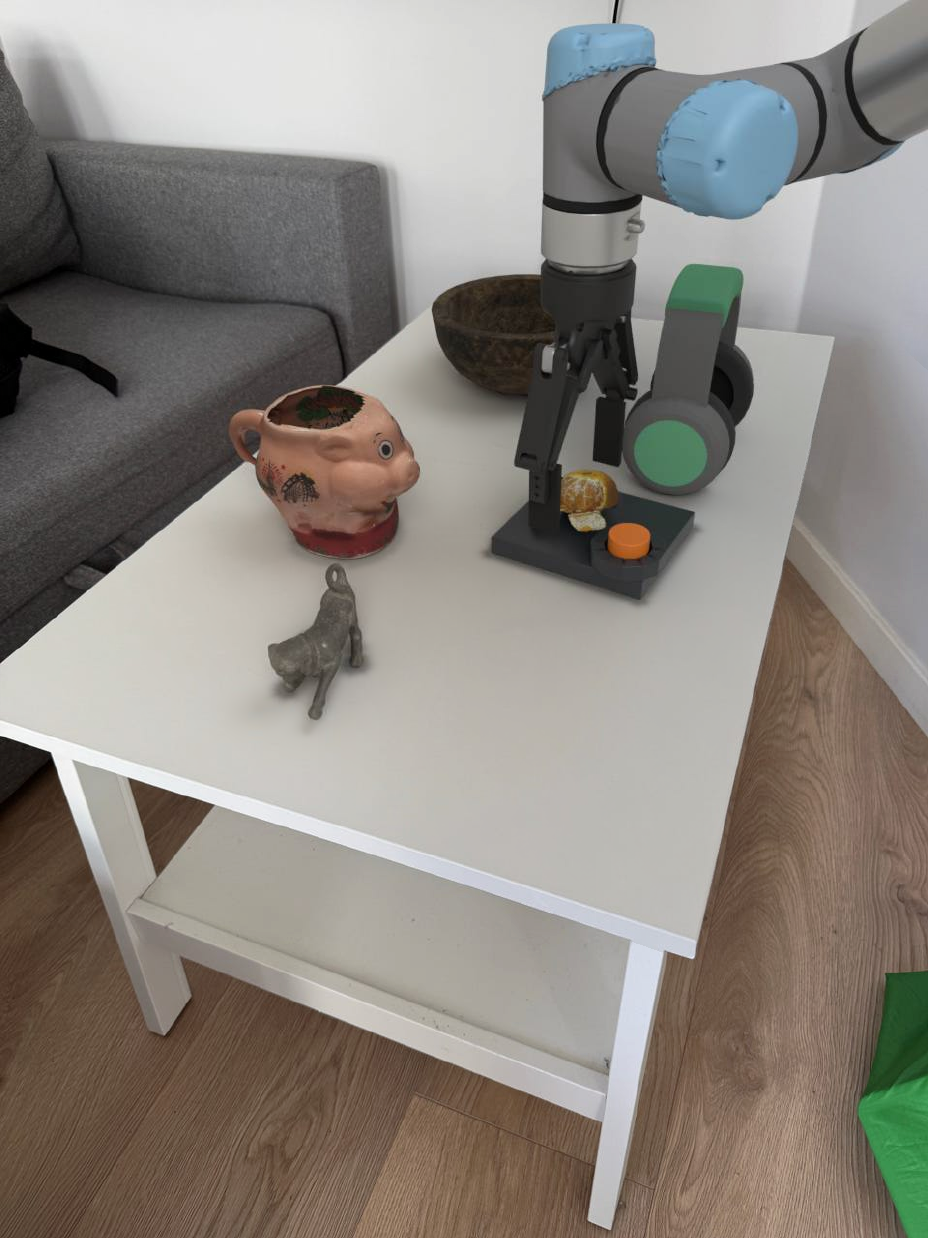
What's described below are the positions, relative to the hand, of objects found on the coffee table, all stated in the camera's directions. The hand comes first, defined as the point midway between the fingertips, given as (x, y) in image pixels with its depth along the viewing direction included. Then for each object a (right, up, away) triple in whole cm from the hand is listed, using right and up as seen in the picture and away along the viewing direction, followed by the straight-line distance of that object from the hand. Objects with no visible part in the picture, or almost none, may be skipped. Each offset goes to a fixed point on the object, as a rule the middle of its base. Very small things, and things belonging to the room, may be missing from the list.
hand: (576, 493), depth 85 cm
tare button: (+4, -5, -5) cm, 8 cm away
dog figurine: (-22, -16, -12) cm, 30 cm away
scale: (+2, -4, +2) cm, 5 cm away
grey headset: (+13, +5, +14) cm, 20 cm away
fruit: (0, -2, +1) cm, 2 cm away
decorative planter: (-24, -3, +5) cm, 24 cm away
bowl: (-3, +18, +30) cm, 35 cm away
